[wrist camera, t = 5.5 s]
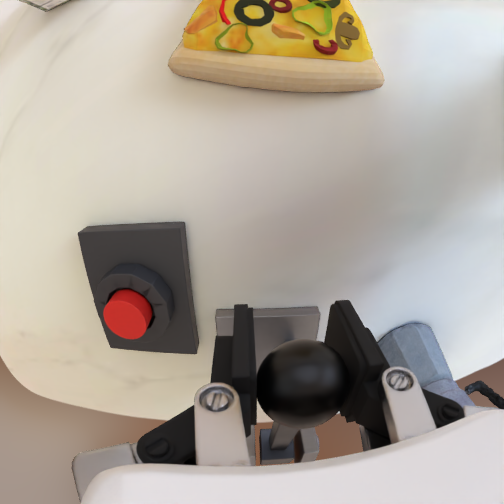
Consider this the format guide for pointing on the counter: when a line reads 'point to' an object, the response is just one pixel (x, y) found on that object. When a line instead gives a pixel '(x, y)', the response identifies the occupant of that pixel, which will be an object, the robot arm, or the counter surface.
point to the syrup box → (44, 3)
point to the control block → (144, 280)
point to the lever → (298, 393)
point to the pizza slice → (278, 46)
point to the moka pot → (429, 364)
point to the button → (128, 314)
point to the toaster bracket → (268, 338)
